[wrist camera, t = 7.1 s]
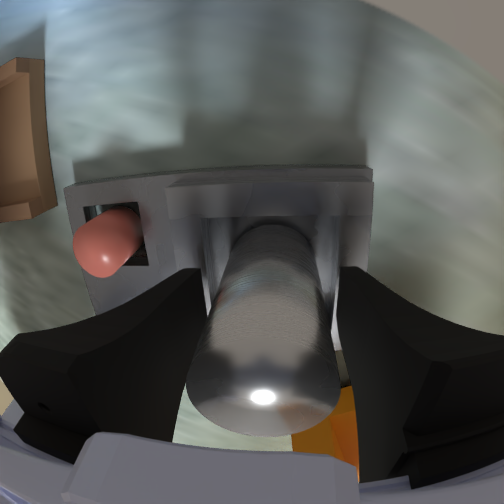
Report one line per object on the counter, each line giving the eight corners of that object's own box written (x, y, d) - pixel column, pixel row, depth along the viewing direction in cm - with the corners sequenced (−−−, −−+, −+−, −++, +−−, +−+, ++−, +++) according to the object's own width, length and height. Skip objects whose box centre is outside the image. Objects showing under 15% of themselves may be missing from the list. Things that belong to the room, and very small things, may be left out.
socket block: (108, 320, 16) (91, 343, 14) (74, 183, 13) (48, 194, 11) (352, 325, 15) (360, 354, 13) (366, 165, 12) (382, 174, 10)
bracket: (408, 440, 20) (432, 563, 9) (325, 462, 21) (327, 586, 10) (406, 357, 16) (464, 543, 5) (290, 390, 18) (283, 581, 7)
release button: (106, 253, 14) (80, 276, 12) (96, 207, 13) (67, 225, 11) (148, 253, 14) (125, 278, 12) (139, 204, 13) (113, 221, 11)
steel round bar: (232, 301, 14) (199, 432, 8) (226, 225, 12) (171, 335, 6) (314, 301, 14) (330, 435, 7) (316, 223, 12) (351, 337, 6)
